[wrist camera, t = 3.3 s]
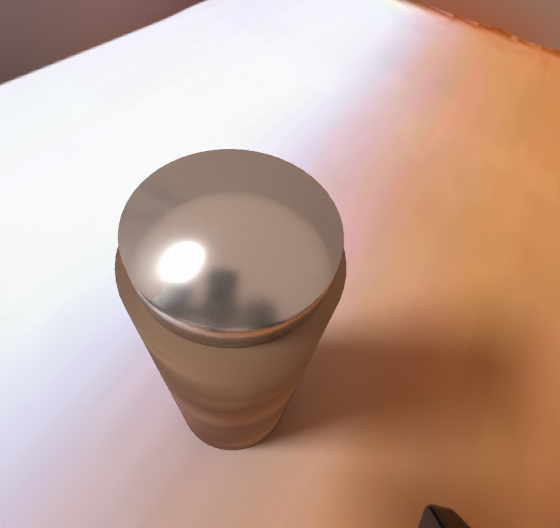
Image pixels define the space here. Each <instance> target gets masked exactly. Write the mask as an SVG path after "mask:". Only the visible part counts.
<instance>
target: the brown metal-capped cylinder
mask: <svg viewBox="0 0 560 528" xmlns="http://www.w3.org/2000/svg"><path fill="white" fill-rule="evenodd" d="M118 244H119V245H118V249H117V253H116V261H115V276H116V283H117V287H118V291H119V295H120V297H121V299H122V302H123V304H124V306H125V308H126V310H127V312H128V314H129V316H130V318H131V320H132V321H133V323H134V325H135V327H136V329H137V331H138V333H139V334H140V336H141V338H142V340H143V342H144V344H145V346H146V348H147V349H148V351H149V353H150V355H151V357H152V359H153V361H154V362H155V364H156V366H157V368H158V370H159V372H160V374H161V376H162V377H163V379H164V381H165V383H166V385H167V387H168V389H169V390H170V392H171V394H172V396H173V398H174V400H175V402H176V404H177V405H178V407H179V409H180V411H181V413H182V415H183V417H184V418H185V420H186V422H187V424H188V426H189V427H190V429H191V430H192V431H193V433H194V434H195V435H196V436H197V437H198V438H199V439H201V440H202V441H203V442H205V443H207V444H208V445H211V446H213V447H215V448H219V449H224V450H238V449H244V448H247V447H250V446H252V445H255V444H257V443H258V442H260V441H261V440H263V439H264V438H265V437H266V436H268V435H269V434H270V433H271V431H272V430H273V429H274V428H275V426H276V425H277V423H278V422H279V420H280V418H281V416H282V414H283V412H284V410H285V408H286V406H287V404H288V402H289V400H290V398H291V396H292V394H293V392H294V390H295V388H296V386H297V384H298V382H299V380H300V378H301V376H302V374H303V372H304V370H305V368H306V366H307V364H308V362H309V360H310V358H311V356H312V354H313V352H314V350H315V348H316V346H317V344H318V342H319V340H320V338H321V336H322V334H323V332H324V330H325V328H326V326H327V324H328V322H329V320H330V318H331V316H332V314H333V312H334V310H335V308H336V306H337V305H338V303H339V301H340V298H341V295H342V292H343V289H344V284H345V278H346V258H345V251H344V248H343V247H344V233H343V226H342V221H341V218H340V215H339V212H338V210H337V208H336V206H335V204H334V202H333V200H332V199H331V197H330V196H329V194H328V193H327V192H326V191H325V189H324V188H323V187H322V186H321V185H320V184H319V183H318V182H317V181H316V180H315V179H314V178H313V177H311V176H310V175H309V174H307V173H306V172H305V171H303V170H302V169H300V168H298V167H297V166H295V165H293V164H291V163H289V162H287V161H285V160H282V159H280V158H277V157H274V156H271V155H268V154H264V153H260V152H255V151H248V150H237V149H220V150H211V151H204V152H200V153H195V154H191V155H188V156H185V157H182V158H180V159H177V160H175V161H172V162H170V163H169V164H167V165H165V166H163V167H161V168H160V169H158V170H157V171H155V172H154V173H152V174H151V175H150V176H149V177H148V178H146V179H145V180H144V181H143V182H142V183H141V184H140V185H139V186H138V187H137V189H136V190H135V191H134V192H133V194H132V195H131V197H130V198H129V200H128V201H127V203H126V205H125V208H124V210H123V212H122V215H121V219H120V223H119V230H118Z"/></svg>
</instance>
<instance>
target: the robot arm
mask: <svg viewBox="0 0 560 528" xmlns="http://www.w3.org/2000/svg"><path fill="white" fill-rule="evenodd" d="M418 528H470V527H469V526H468V525H467V524H466V523H465V522H464V520H463V519H462V518H461V517H460V516H459V515H458V514H457V513H456V512H455V511H453V510H452V509H450V508H447V507H442V506H438V505H434V504H430V505H427V506H426V507H425V509H424V512H423V515H422V517H421V520H420V523H419V526H418Z"/></svg>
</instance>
